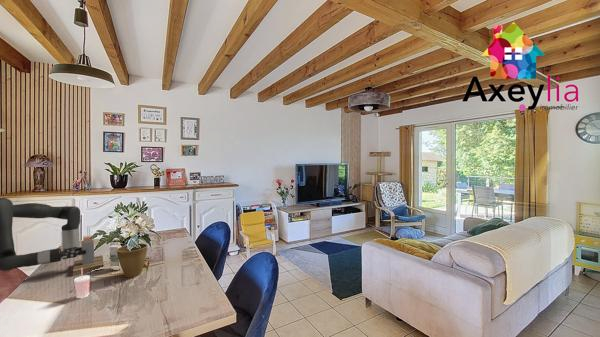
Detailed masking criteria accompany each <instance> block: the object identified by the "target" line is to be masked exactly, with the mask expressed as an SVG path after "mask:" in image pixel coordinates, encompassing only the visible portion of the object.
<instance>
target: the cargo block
mask: <svg viewBox="0 0 600 337" xmlns="http://www.w3.org/2000/svg"><path fill="white" fill-rule="evenodd" d="M91 237H93V236H92V235H86V236H83V237H82V241H83V243H86V242H92V239H93V238H92V239H90V238H91Z"/></svg>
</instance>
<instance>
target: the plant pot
mask: <svg viewBox="0 0 600 337" xmlns="http://www.w3.org/2000/svg"><path fill="white" fill-rule="evenodd" d="M137 244H138V245H140V246H141V248H142V249H139V248H136V247H134V248H132V249H131V251H129V250H128V249H127V245H126V244H125V246H123V247H120V248H118V249H117V255H118V259H119V262H120V265H121V268H122V269H121V270H122V272H123V274H124V276H125V277H126V278H129V279H130V278H136V277H139V276H140V275H141V274H142V271H143V269H144V265H145V262H146V257H147V251H148V244H147V243H137Z"/></svg>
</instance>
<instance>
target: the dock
mask: <svg viewBox="0 0 600 337" xmlns="http://www.w3.org/2000/svg"><path fill="white" fill-rule="evenodd" d="M73 262H74V263H73V268H72V276H73V275H76V276H78V275H77V274H81V268H82V269H83V273H85V274H88V273H87V272H90V273H92V272H91V271H92V270H95V269H98V268H100V267H103V266H104V267H105V265H104V257H103V254H101V255H94V263H91V264H86V265H83V264H82V258H81V259H80V258H79V259H74V261H73Z"/></svg>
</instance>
